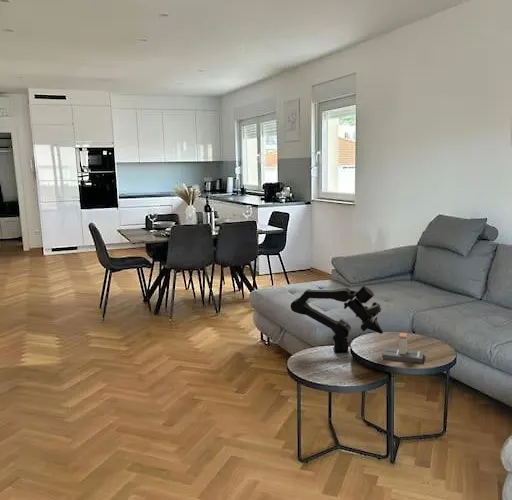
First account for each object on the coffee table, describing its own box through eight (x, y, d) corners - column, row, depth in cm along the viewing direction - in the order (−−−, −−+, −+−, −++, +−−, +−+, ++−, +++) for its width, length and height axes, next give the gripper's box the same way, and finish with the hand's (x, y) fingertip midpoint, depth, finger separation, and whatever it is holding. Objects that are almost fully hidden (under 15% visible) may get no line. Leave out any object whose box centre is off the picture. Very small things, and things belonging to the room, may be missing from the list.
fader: (398, 353, 234) (399, 336, 232) (400, 350, 238) (400, 332, 237) (405, 354, 232) (406, 336, 231) (407, 350, 237) (407, 333, 236)
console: (382, 358, 235) (382, 354, 234) (385, 351, 244) (385, 347, 243) (422, 362, 228) (422, 358, 227) (423, 355, 237) (423, 350, 237)
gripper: (367, 303, 228) (392, 328, 226) (374, 293, 245) (396, 316, 243) (350, 319, 233) (374, 343, 230) (358, 308, 250) (380, 331, 247)
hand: (382, 333), depth 238 cm, fingers closed
